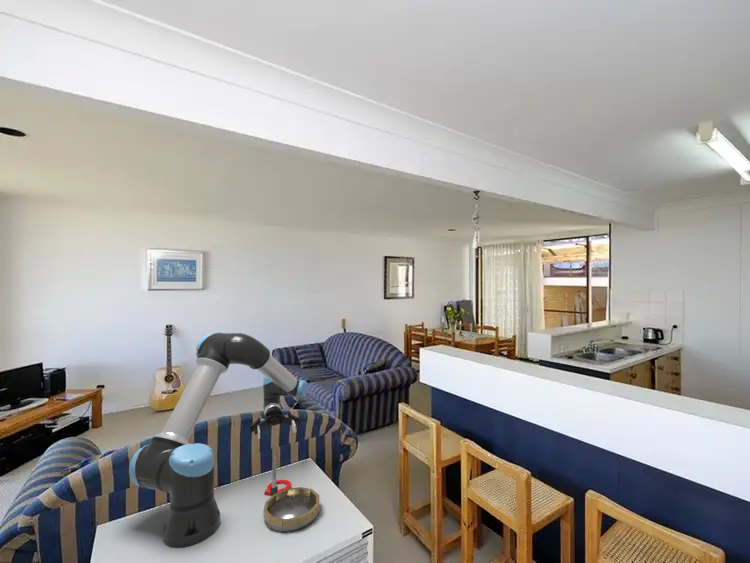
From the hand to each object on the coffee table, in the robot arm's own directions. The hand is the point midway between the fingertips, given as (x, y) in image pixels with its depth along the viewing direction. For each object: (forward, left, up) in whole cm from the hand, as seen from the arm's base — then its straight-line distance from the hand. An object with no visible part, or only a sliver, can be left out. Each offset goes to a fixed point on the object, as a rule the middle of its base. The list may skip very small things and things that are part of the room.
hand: (277, 432), depth 133 cm
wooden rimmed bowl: (+19, -19, -16) cm, 32 cm away
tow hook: (+6, -8, -16) cm, 19 cm away
